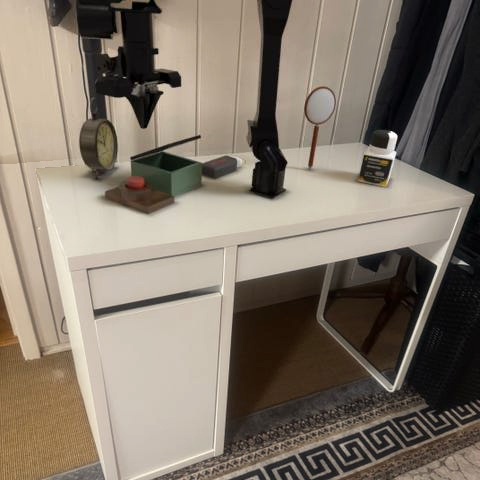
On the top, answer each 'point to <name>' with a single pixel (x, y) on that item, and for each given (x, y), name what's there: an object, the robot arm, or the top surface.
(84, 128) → the alarm clock
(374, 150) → the medicine bottle
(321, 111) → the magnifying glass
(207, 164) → the usb drive
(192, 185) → the cooker
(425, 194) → the top surface
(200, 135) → the cooker lid
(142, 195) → the control block
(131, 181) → the button
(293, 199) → the top surface
